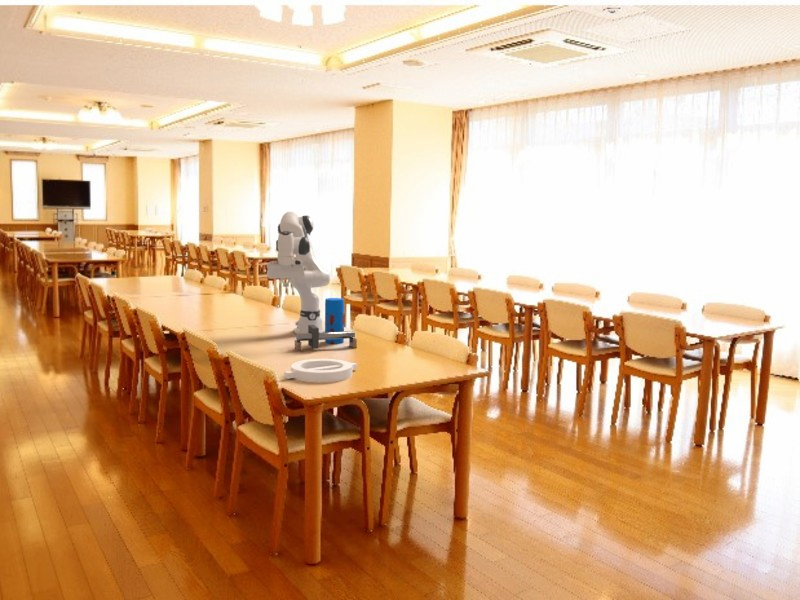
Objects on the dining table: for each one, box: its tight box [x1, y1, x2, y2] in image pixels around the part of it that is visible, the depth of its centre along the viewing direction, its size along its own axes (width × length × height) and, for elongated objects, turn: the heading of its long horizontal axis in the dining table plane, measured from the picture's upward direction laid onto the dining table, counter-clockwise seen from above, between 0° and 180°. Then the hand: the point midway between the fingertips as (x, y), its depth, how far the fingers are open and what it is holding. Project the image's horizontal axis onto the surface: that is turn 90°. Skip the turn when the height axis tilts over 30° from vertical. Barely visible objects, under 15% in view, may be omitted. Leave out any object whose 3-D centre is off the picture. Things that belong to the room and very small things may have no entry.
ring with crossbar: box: [284, 358, 358, 383], centre depth 306 cm, size 28×28×5 cm
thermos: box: [324, 297, 345, 345], centre depth 382 cm, size 11×11×25 cm
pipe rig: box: [294, 330, 358, 352], centre depth 365 cm, size 7×33×9 cm, turn 112°
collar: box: [307, 325, 320, 350], centre depth 362 cm, size 11×3×11 cm, turn 22°
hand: (285, 286), depth 365 cm, fingers closed
